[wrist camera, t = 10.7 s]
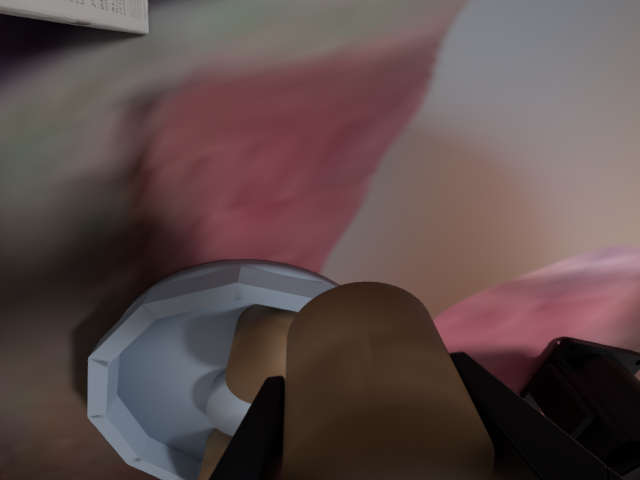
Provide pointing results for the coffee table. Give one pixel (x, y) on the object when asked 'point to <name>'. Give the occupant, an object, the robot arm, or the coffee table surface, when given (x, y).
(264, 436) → the robot arm
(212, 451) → the wooden rounded peg
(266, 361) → the bead
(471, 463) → the bead
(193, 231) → the coffee table surface
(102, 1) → the skincare box
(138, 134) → the coffee table surface
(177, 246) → the coffee table surface
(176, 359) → the groove tray
